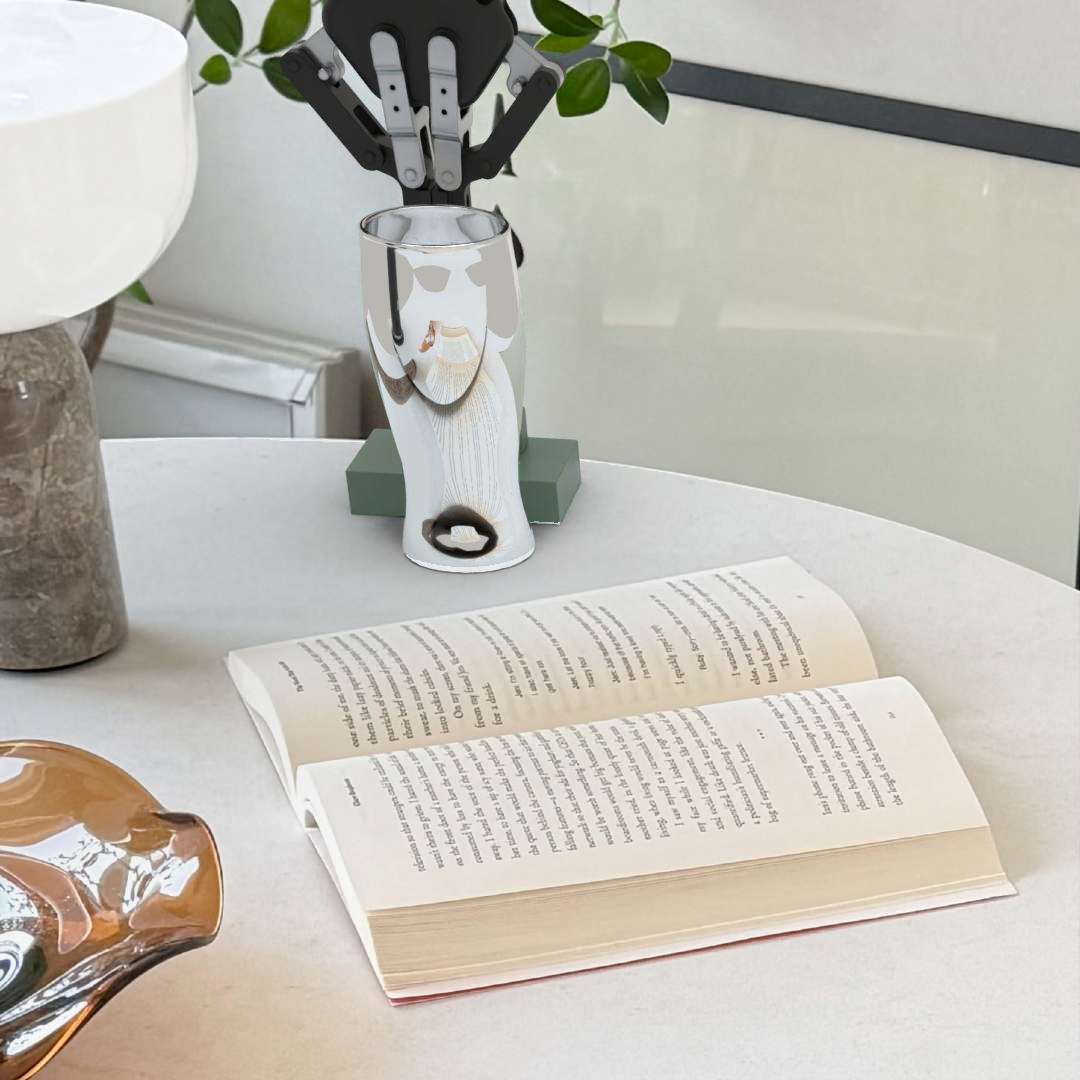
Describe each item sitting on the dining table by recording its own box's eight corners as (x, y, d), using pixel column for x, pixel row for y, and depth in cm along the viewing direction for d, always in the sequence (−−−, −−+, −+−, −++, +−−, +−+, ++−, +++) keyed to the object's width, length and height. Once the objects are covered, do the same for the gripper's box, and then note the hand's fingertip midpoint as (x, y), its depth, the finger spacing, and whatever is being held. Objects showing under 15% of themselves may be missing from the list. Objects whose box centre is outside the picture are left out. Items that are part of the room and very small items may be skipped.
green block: (350, 514, 134) (339, 433, 132) (384, 463, 140) (374, 384, 138) (560, 526, 135) (553, 445, 133) (585, 474, 141) (578, 396, 138)
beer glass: (409, 585, 128) (368, 251, 119) (380, 530, 133) (339, 206, 124) (560, 569, 131) (531, 242, 122) (526, 516, 136) (496, 198, 127)
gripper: (226, -136, 118) (281, 279, 128) (542, -111, 119) (572, 299, 129) (271, -165, 124) (321, 234, 135) (572, -142, 125) (598, 252, 136)
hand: (444, 265), depth 132 cm, fingers closed
